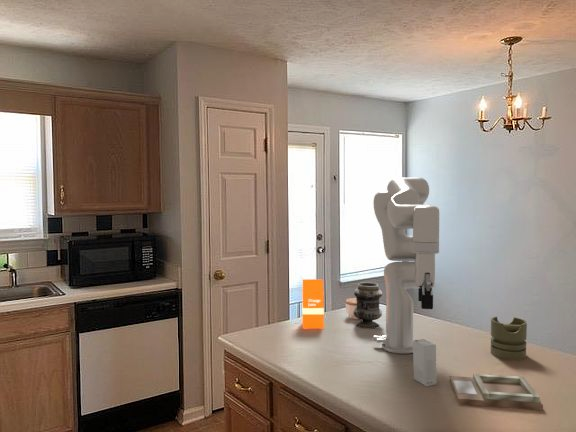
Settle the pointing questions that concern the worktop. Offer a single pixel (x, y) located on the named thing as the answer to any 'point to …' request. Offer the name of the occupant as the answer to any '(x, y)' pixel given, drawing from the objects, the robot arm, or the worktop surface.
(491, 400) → the framed base plate
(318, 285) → the orange juice
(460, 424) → the worktop surface
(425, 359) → the skincare box
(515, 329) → the piston
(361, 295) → the dark stone vase
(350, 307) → the lidded jar
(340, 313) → the worktop surface
